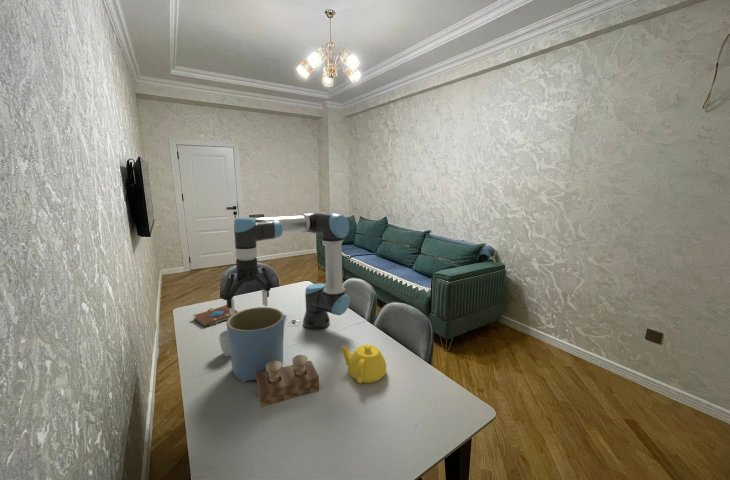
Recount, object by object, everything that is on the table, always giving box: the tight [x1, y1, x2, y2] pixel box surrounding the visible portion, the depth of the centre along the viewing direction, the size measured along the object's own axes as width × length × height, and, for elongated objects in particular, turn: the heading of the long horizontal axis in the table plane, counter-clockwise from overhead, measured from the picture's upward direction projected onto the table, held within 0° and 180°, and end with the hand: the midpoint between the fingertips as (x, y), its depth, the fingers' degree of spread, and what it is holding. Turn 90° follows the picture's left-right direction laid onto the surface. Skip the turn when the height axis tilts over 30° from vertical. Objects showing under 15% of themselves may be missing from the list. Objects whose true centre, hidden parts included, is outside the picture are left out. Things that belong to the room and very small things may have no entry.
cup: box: [218, 329, 231, 357], centre depth 143 cm, size 8×8×10 cm
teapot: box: [341, 344, 387, 384], centre depth 130 cm, size 20×19×13 cm
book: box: [192, 304, 239, 328], centre depth 181 cm, size 16×25×5 cm, turn 141°
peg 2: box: [292, 354, 308, 377], centre depth 121 cm, size 6×6×7 cm
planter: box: [225, 306, 285, 383], centre depth 131 cm, size 23×23×24 cm
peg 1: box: [266, 361, 283, 384], centre depth 117 cm, size 6×6×7 cm
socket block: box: [256, 360, 320, 408], centre depth 120 cm, size 22×12×6 cm, turn 115°
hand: (249, 310), depth 121 cm, fingers open, 13 cm apart
